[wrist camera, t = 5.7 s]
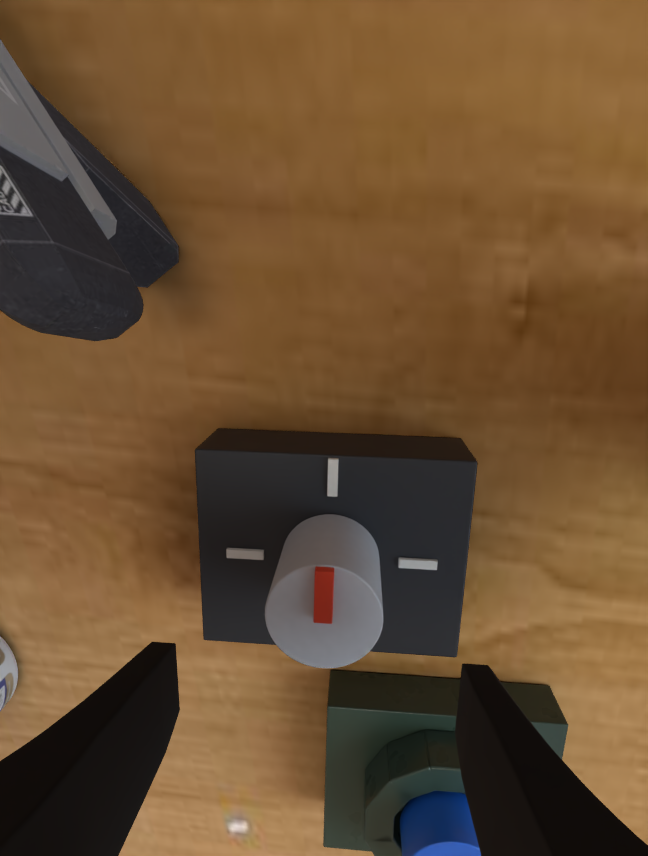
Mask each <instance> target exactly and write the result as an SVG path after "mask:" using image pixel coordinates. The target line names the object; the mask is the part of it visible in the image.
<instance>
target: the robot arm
mask: <svg viewBox="0 0 648 856" xmlns="http://www.w3.org/2000/svg"><path fill="white" fill-rule="evenodd" d="M179 710H180V707H179V692H178V676H177V660H176V644H175V643H161V642H152V643H150V644H149V645H148V646H147V647H146V648H144V649H143V650H142V651H141V652H140V653H139V654H137V655H136V656H135V657H134V658H133V659H132V660H131V661H129V662H128V663H127V664H126V665H125V666H124V667H123V668H121V669H120V670H119V671H118V672H117V673H116V674H115V675H113V676H112V677H111V678H110V679H109V680H108V681H106V682H105V683H104V684H103V685H102V686H101V687H99V688H98V689H97V690H96V691H95V692H93V693H92V694H91V695H90V696H89V697H87V698H86V699H85V700H84V701H83V702H81V703H80V704H79V705H78V706H76V707H75V708H74V709H72V710H71V711H70V712H69V713H67V714H66V715H65V716H63V717H62V718H61V719H60V720H58V721H57V722H56V723H54V724H53V725H52V726H51V727H49V728H48V729H47V730H45V731H44V732H42V733H41V734H40V735H38V736H37V737H35V738H34V739H33V740H31V741H30V742H28V743H27V744H25V745H24V746H22V747H21V748H19V749H18V750H16V751H15V752H13V753H12V754H10V755H9V756H7V757H6V758H4V759H3V760H1V761H0V856H118V855H119V853H120V851H121V849H122V846H123V844H124V842H125V840H126V838H127V836H128V833H129V831H130V829H131V827H132V825H133V823H134V820H135V818H136V816H137V814H138V812H139V810H140V807H141V805H142V803H143V801H144V799H145V797H146V794H147V792H148V790H149V788H150V786H151V784H152V781H153V779H154V777H155V775H156V773H157V770H158V768H159V766H160V764H161V762H162V759H163V757H164V755H165V753H166V750H167V747H168V744H169V741H170V738H171V735H172V732H173V729H174V726H175V723H176V720H177V717H178V713H179ZM455 736H456V743H457V751H458V758H459V764H460V771H461V777H462V781H463V785H464V789H465V793H466V797H467V801H468V805H469V809H470V813H471V817H472V821H473V825H474V829H475V833H476V837H477V841H478V845H479V848H480V852H481V856H648V845H647V844H645V843H644V842H643V841H642V840H641V839H640V838H639V837H637V836H636V835H635V834H634V833H633V832H632V831H631V830H630V829H629V828H628V827H627V826H625V825H624V824H623V823H622V822H621V821H620V820H619V819H618V818H617V817H616V816H615V815H614V814H613V813H612V812H611V811H610V810H609V809H608V808H607V807H606V806H605V805H604V804H603V803H602V802H601V801H600V800H599V799H598V798H597V797H596V796H595V795H594V794H593V793H592V792H591V791H590V790H589V789H588V788H587V787H586V786H585V785H584V784H583V783H582V782H581V781H580V780H579V778H578V777H577V776H576V775H575V774H574V773H573V772H572V771H571V770H570V768H569V767H568V766H567V765H566V764H565V763H564V762H563V761H562V759H561V758H560V757H559V756H558V755H557V754H556V752H555V751H554V750H553V749H552V748H551V747H550V745H549V744H548V743H547V742H546V741H545V739H544V738H543V737H542V736H541V734H540V733H539V732H538V731H537V729H536V728H535V727H534V726H533V724H532V723H531V722H530V721H529V719H528V718H527V717H526V716H525V714H524V713H523V712H522V710H521V709H520V708H519V706H518V705H517V704H516V702H515V701H514V700H513V698H512V697H511V696H510V694H509V693H508V692H507V690H506V689H505V688H504V686H503V685H502V683H501V682H500V681H499V679H498V678H497V677H496V675H495V674H494V672H493V671H492V670H491V668H490V667H489V666H488V665H476V664H462V671H461V680H460V689H459V698H458V707H457V716H456V725H455Z"/></svg>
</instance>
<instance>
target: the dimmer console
mask: <svg viewBox="0 0 648 856" xmlns="http://www.w3.org/2000/svg"><path fill="white" fill-rule="evenodd" d="M195 464H196V485H197V507H198V528H199V550H200V572H201V593H202V615H203V636H204V640H213V641H227V642H242V643H256V644H271V645H276V644H275V642H274V641H273V639H272V638H271V636H270V634H269V631H268V629H267V626H266V621H265V605H266V601H267V597H268V594H269V591H270V588H271V585H272V581H273V578H274V575H275V572H276V569H277V566H278V562H279V559H280V556H281V553H282V550H283V546H284V543H285V541H286V539H287V537H288V535H289V534H290V532H291V531H292V530H293V529H294V528H295V527H296V526H297V525H298V524H300V523H301V522H303V521H304V520H306V519H309V518H311V517H314V516H318V515H324V514H334V515H340V516H345V517H347V518H350V519H352V520H354V521H356V522H358V523H359V524H360V525H362V526H363V527H364V528H365V529H366V530H367V531H368V532H369V533H370V534H371V536H372V537H373V539H374V540H375V543H376V545H377V548H378V551H379V559H380V574H381V589H382V603H383V627H382V631H381V634H380V637H379V639H378V641H377V642H376V644H375V645H374V647H373V648H372V649H371V650H370V651H373V652H387V653H402V654H416V655H431V656H446V657H457V652H458V642H459V633H460V623H461V614H462V605H463V595H464V586H465V576H466V567H467V558H468V548H469V539H470V529H471V520H472V511H473V501H474V492H475V483H476V473H477V464H478V463H477V461H476V459H475V458H474V456H473V455H472V453H471V452H470V451H469V449H468V448H467V446H466V445H465V443H464V442H463V441H462V439H461V438H442V437H418V436H393V435H369V434H344V433H320V432H295V431H270V430H246V429H221V428H219V429H217V430H216V431H215V432H214V433H212V434H211V435H210V436H209V437H208V438H207V439H206V440H205V441H204V442H203V443H202V444H200V445H199V446H198V447H197V448H196V449H195Z"/></svg>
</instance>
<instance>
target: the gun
mask: <svg viewBox="0 0 648 856" xmlns="http://www.w3.org/2000/svg"><path fill="white" fill-rule="evenodd" d="M178 262H179V246H178V245H177V243H176V241H175V240H174V238H173V237H172V235H171V234H170V232H169V231H168V229H167V228H166V226H165V225H164V223H163V221H162V220H161V218H160V217H159V215H158V214H157V212H156V211H155V209H154V208H153V206H152V205H151V203H150V202H149V201H148V200H147V199H146V198H145V197H144V196H143V195H142V194H141V193H140V192H139V191H138V190H137V189H136V188H135V187H134V186H133V185H132V184H131V183H130V182H129V181H128V180H127V179H126V178H125V177H124V176H123V175H122V174H121V173H120V172H119V171H118V170H117V169H116V168H115V167H114V166H113V165H112V164H111V163H110V162H109V161H108V160H107V159H106V158H105V157H104V156H103V155H102V154H101V153H100V152H99V151H98V150H97V149H96V148H95V147H94V146H93V145H92V144H91V143H90V142H89V141H88V140H87V139H86V138H85V137H84V136H83V135H82V134H81V133H80V132H79V131H78V130H77V129H76V128H75V127H74V126H73V125H72V124H71V123H70V122H69V121H68V120H67V119H66V118H65V117H64V116H63V115H62V114H61V113H60V112H59V111H58V110H57V109H56V108H55V107H54V106H53V105H52V104H51V103H49V102H48V101H47V100H46V99H45V98H44V97H43V96H42V95H41V94H40V93H39V92H38V91H37V90H36V89H35V88H34V87H33V86H32V85H31V84H30V83H29V82H28V81H27V80H26V79H25V77H24V75H23V74H22V72H21V71H20V69H19V68H18V66H17V65H16V63H15V61H14V60H13V58H12V57H11V55H10V54H9V52H8V51H7V49H6V48H5V46H4V44H3V43H2V41H1V40H0V310H1V311H2V312H3V313H5V314H6V315H7V316H9V317H10V318H11V319H13V320H15V321H17V322H18V323H20V324H22V325H24V326H26V327H28V328H30V329H33V330H35V331H38V332H41V333H46V334H53V335H59V336H66V337H72V338H78V339H85V340H91V341H100V340H107V339H113V338H117V337H119V336H120V335H121V334H122V333H124V332H125V331H126V330H127V329H129V328H130V327H131V326H132V325H134V324H135V323H136V322H137V321H138V320H139V319H140V317H141V315H142V312H143V306H144V305H143V300H142V297H141V294H140V292H139V290H138V288H137V287H149V286H150V285H151V284H152V283H153V282H155V281H156V280H157V279H158V278H160V277H161V276H162V275H163V274H164V273H166V272H167V271H168V270H169V269H171V268H172V267H173V266H174V265H176V264H177V263H178Z"/></svg>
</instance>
